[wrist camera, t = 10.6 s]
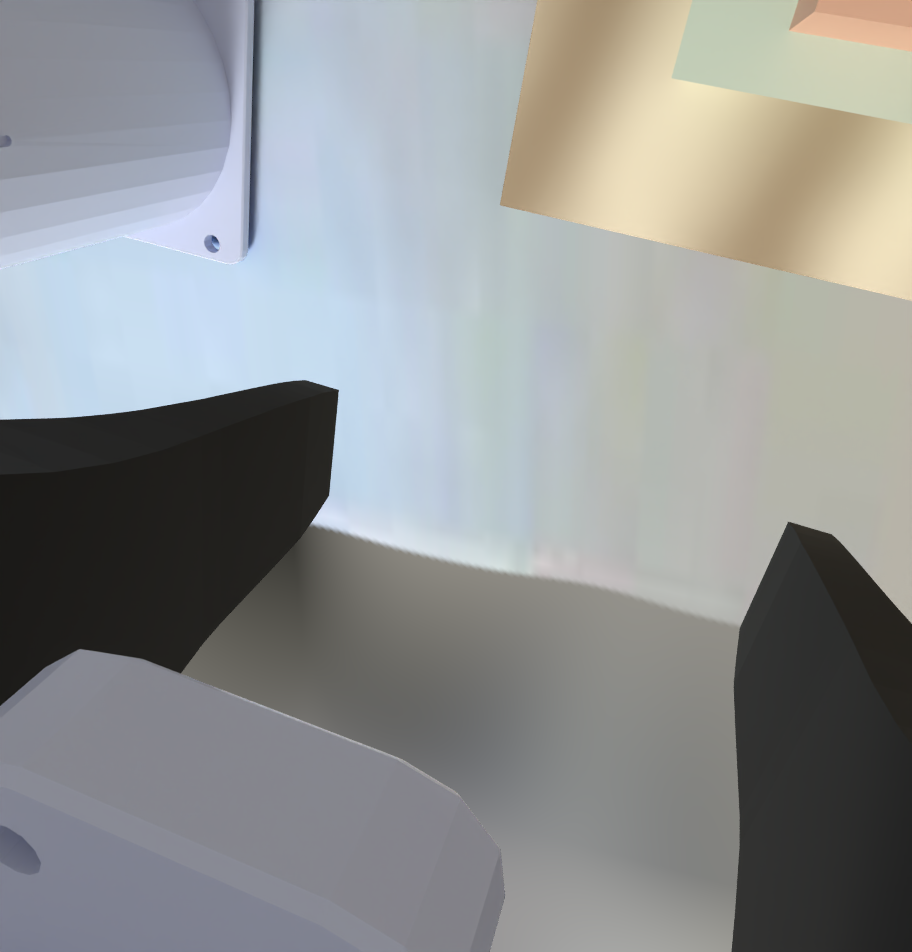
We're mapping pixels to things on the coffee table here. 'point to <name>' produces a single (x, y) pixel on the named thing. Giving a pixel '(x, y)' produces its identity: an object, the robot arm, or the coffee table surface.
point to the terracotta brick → (857, 21)
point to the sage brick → (791, 60)
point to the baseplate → (702, 154)
